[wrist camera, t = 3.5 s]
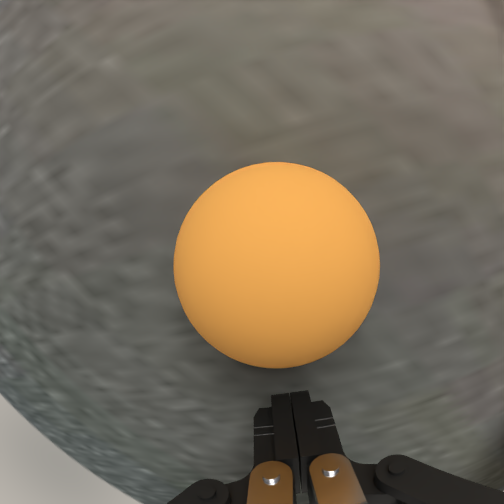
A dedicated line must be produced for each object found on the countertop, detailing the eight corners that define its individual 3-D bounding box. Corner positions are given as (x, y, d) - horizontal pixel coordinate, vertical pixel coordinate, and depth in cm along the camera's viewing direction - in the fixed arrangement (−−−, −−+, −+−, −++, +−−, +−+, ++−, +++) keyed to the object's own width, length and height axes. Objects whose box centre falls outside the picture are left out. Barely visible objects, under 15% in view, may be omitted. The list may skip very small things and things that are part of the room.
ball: (170, 201, 11) (102, 220, 6) (317, 145, 11) (374, 116, 5) (228, 335, 12) (213, 435, 7) (363, 286, 12) (431, 359, 6)
